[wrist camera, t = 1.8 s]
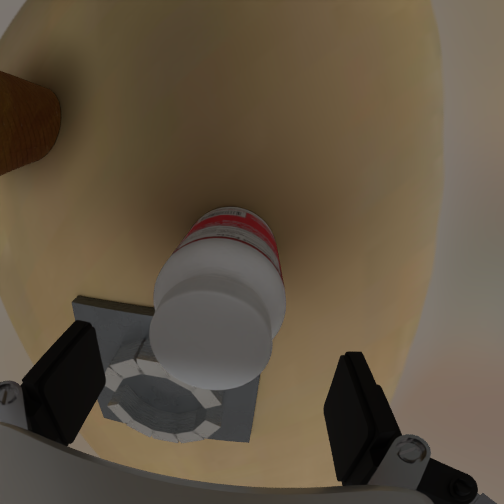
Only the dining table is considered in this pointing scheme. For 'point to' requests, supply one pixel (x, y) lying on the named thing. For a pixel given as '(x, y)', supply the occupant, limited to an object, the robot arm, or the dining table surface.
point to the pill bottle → (219, 301)
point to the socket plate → (158, 382)
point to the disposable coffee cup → (26, 122)
